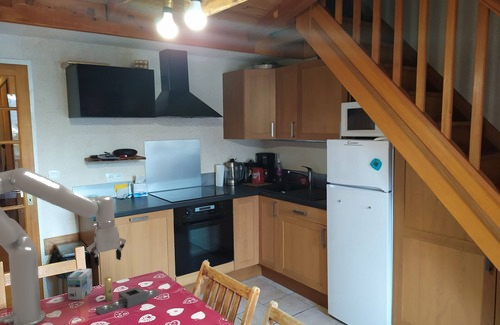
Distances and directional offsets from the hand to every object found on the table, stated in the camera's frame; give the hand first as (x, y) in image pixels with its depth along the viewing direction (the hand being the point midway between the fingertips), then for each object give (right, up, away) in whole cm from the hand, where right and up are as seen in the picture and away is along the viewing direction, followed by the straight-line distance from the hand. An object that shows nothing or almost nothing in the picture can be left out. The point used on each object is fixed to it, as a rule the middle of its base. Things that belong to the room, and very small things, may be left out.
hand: (108, 262), depth 165 cm
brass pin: (0, -17, +1) cm, 17 cm away
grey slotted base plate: (+10, -17, -2) cm, 20 cm away
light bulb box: (-15, -17, +7) cm, 24 cm away
